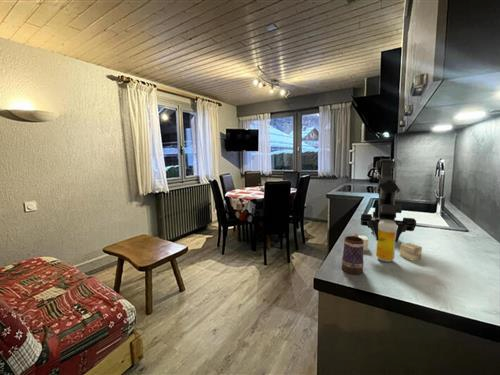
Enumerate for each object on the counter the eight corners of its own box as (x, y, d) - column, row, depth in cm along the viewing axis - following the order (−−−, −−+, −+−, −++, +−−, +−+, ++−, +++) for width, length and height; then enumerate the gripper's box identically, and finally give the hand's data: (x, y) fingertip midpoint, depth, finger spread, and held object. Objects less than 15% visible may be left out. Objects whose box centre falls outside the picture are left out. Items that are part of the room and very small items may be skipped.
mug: (361, 277, 77) (363, 242, 76) (339, 271, 81) (341, 238, 80) (365, 265, 86) (367, 234, 84) (345, 260, 90) (347, 230, 88)
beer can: (376, 254, 95) (379, 218, 93) (393, 257, 91) (396, 220, 89) (375, 259, 89) (378, 222, 87) (394, 263, 86) (397, 224, 84)
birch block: (408, 254, 96) (409, 242, 95) (420, 259, 91) (422, 247, 91) (399, 255, 95) (400, 244, 94) (411, 260, 90) (412, 248, 89)
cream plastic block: (365, 246, 104) (366, 236, 103) (367, 250, 99) (368, 239, 99) (353, 245, 106) (354, 234, 105) (354, 249, 101) (355, 238, 100)
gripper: (362, 194, 95) (360, 227, 86) (417, 197, 86) (421, 235, 78) (361, 209, 103) (359, 240, 94) (412, 213, 95) (414, 248, 86)
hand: (386, 241), depth 88 cm, fingers closed on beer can, 6 cm apart
